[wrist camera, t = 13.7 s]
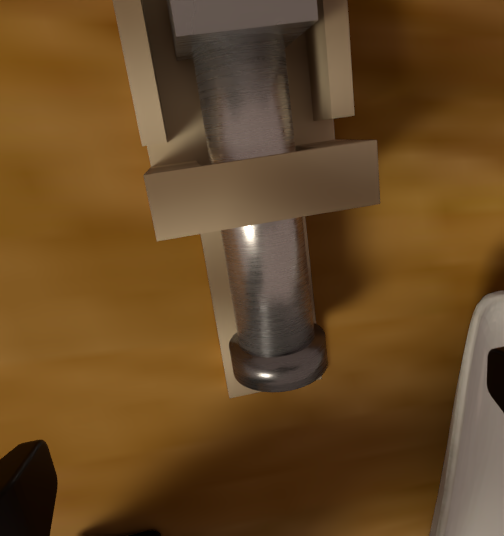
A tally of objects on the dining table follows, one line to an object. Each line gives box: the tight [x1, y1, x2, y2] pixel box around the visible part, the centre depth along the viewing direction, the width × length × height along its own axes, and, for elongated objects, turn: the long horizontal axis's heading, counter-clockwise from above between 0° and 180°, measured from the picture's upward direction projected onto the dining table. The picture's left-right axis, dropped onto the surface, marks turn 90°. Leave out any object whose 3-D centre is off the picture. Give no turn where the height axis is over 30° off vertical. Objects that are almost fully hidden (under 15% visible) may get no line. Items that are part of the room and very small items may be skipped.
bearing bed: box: [113, 0, 380, 398], centre depth 16 cm, size 20×7×5 cm, turn 8°
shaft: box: [192, 33, 328, 392], centre depth 16 cm, size 12×4×4 cm, turn 8°
